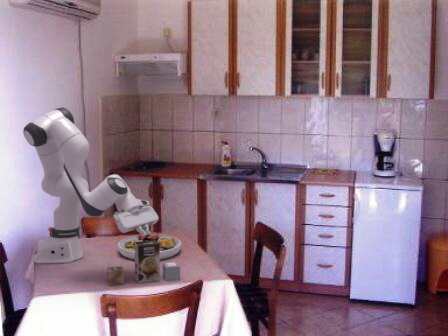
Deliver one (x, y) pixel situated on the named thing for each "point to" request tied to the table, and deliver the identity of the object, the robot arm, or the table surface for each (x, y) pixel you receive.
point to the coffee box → (147, 261)
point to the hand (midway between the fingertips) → (147, 235)
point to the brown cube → (115, 276)
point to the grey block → (171, 271)
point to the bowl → (167, 243)
